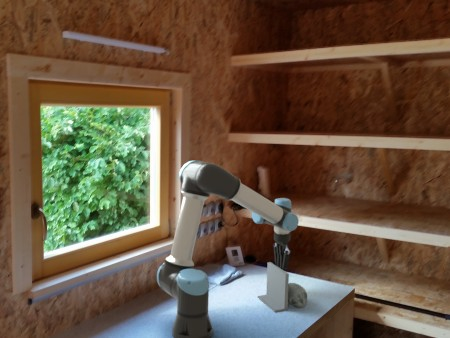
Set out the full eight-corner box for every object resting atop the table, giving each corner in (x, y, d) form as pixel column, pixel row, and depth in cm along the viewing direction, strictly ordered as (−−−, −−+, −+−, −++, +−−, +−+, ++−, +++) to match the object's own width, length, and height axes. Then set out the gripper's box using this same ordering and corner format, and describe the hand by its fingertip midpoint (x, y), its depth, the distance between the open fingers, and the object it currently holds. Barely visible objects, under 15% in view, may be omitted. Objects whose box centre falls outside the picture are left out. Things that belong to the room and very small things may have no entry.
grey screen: (275, 312, 194) (276, 275, 192) (257, 297, 209) (258, 263, 206) (287, 310, 196) (288, 273, 194) (269, 295, 211) (270, 262, 209)
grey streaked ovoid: (314, 302, 197) (303, 281, 197) (295, 313, 195) (284, 292, 196) (305, 297, 210) (295, 277, 211) (287, 307, 209) (277, 288, 209)
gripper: (296, 234, 207) (295, 285, 210) (282, 227, 219) (280, 275, 222) (282, 236, 204) (280, 287, 207) (268, 229, 216) (267, 277, 219)
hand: (280, 281), depth 215 cm, fingers closed
